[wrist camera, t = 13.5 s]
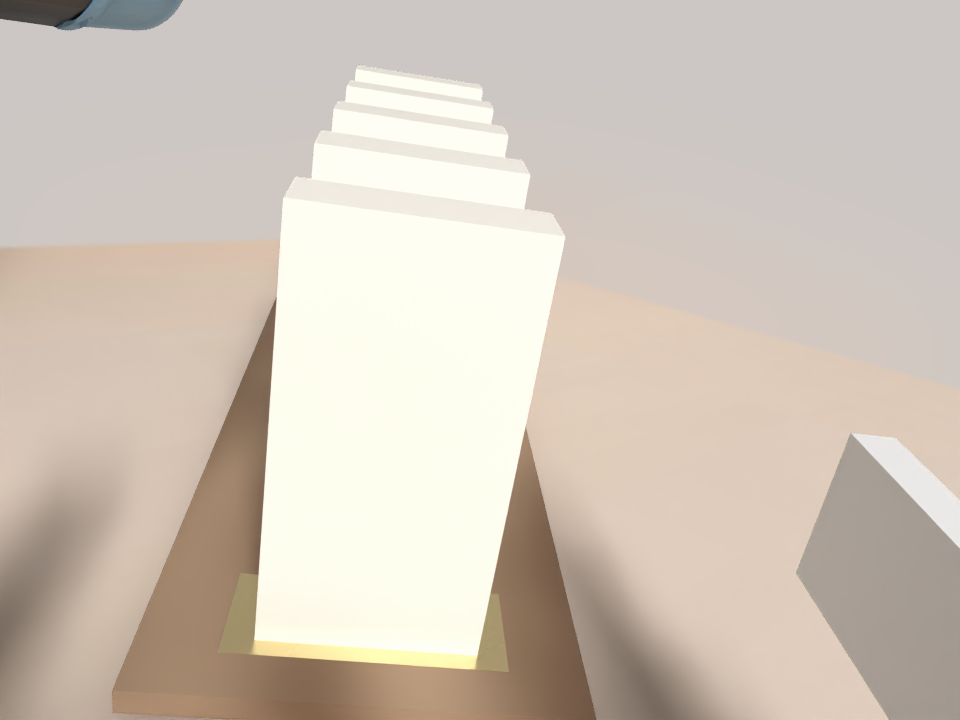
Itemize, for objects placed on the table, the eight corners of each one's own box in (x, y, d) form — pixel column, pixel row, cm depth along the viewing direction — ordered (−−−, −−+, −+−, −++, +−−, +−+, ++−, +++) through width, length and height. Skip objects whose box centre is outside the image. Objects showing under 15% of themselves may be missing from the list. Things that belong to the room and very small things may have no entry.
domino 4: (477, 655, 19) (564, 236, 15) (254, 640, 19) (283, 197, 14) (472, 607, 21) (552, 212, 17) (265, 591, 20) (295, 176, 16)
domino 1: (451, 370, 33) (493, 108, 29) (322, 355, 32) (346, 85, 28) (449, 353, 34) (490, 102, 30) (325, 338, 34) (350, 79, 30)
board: (112, 712, 17) (111, 690, 17) (281, 294, 39) (282, 282, 38) (590, 740, 18) (596, 720, 18) (495, 320, 40) (497, 309, 40)
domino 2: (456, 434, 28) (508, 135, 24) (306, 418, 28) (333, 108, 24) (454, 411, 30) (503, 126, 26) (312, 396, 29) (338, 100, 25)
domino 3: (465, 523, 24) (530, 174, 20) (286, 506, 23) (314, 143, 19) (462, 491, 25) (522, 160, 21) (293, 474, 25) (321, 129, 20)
